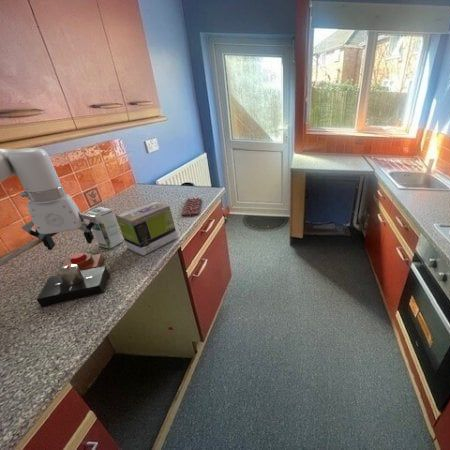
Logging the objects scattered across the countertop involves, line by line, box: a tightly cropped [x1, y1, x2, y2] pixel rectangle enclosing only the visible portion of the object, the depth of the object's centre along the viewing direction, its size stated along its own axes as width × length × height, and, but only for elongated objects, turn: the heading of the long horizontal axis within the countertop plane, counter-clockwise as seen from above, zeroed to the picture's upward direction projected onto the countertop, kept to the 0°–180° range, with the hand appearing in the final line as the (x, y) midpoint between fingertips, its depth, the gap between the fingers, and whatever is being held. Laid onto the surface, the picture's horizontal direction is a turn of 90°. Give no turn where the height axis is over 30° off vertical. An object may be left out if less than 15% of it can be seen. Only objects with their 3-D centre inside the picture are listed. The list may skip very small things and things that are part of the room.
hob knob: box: [57, 264, 83, 286], centre depth 73 cm, size 4×4×5 cm
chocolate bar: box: [181, 197, 202, 217], centre depth 128 cm, size 7×19×2 cm, turn 15°
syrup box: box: [85, 206, 124, 250], centre depth 94 cm, size 6×6×14 cm
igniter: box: [57, 252, 104, 275], centre depth 83 cm, size 10×8×4 cm
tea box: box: [115, 200, 178, 256], centre depth 95 cm, size 15×10×15 cm, turn 152°
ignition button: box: [69, 251, 86, 263], centre depth 82 cm, size 4×4×2 cm
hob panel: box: [36, 265, 109, 308], centre depth 75 cm, size 14×10×3 cm
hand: (71, 244), depth 78 cm, fingers open, 9 cm apart
